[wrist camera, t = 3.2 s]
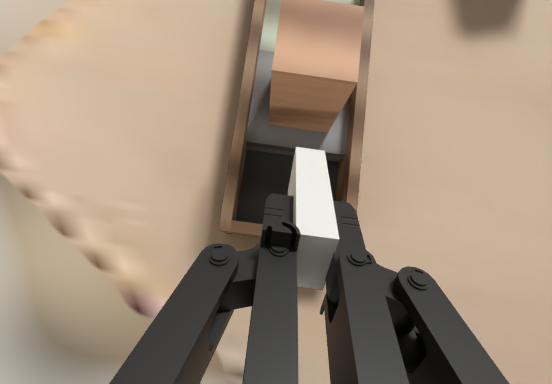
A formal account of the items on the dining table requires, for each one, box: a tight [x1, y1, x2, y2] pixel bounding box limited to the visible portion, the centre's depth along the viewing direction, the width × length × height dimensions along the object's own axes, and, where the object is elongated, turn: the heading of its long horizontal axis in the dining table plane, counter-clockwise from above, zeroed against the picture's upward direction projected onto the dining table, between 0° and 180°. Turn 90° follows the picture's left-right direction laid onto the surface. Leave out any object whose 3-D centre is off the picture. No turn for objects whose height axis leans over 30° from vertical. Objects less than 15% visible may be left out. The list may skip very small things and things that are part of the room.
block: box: [268, 0, 364, 133], centre depth 27 cm, size 6×6×10 cm
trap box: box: [218, 0, 374, 237], centre depth 34 cm, size 38×12×5 cm, turn 173°
